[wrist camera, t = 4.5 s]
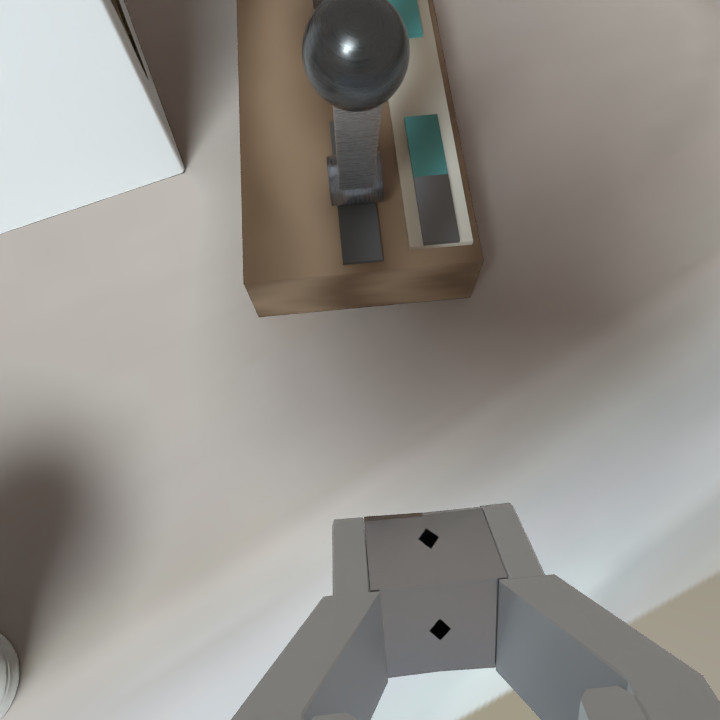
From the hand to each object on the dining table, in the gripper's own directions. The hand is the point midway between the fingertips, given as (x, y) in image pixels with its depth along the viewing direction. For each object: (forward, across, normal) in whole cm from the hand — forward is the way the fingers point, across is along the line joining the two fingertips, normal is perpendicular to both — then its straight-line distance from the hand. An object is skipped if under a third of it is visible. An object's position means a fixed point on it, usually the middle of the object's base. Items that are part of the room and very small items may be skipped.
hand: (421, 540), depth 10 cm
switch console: (+31, 0, -5) cm, 31 cm away
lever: (+23, 0, -3) cm, 24 cm away
